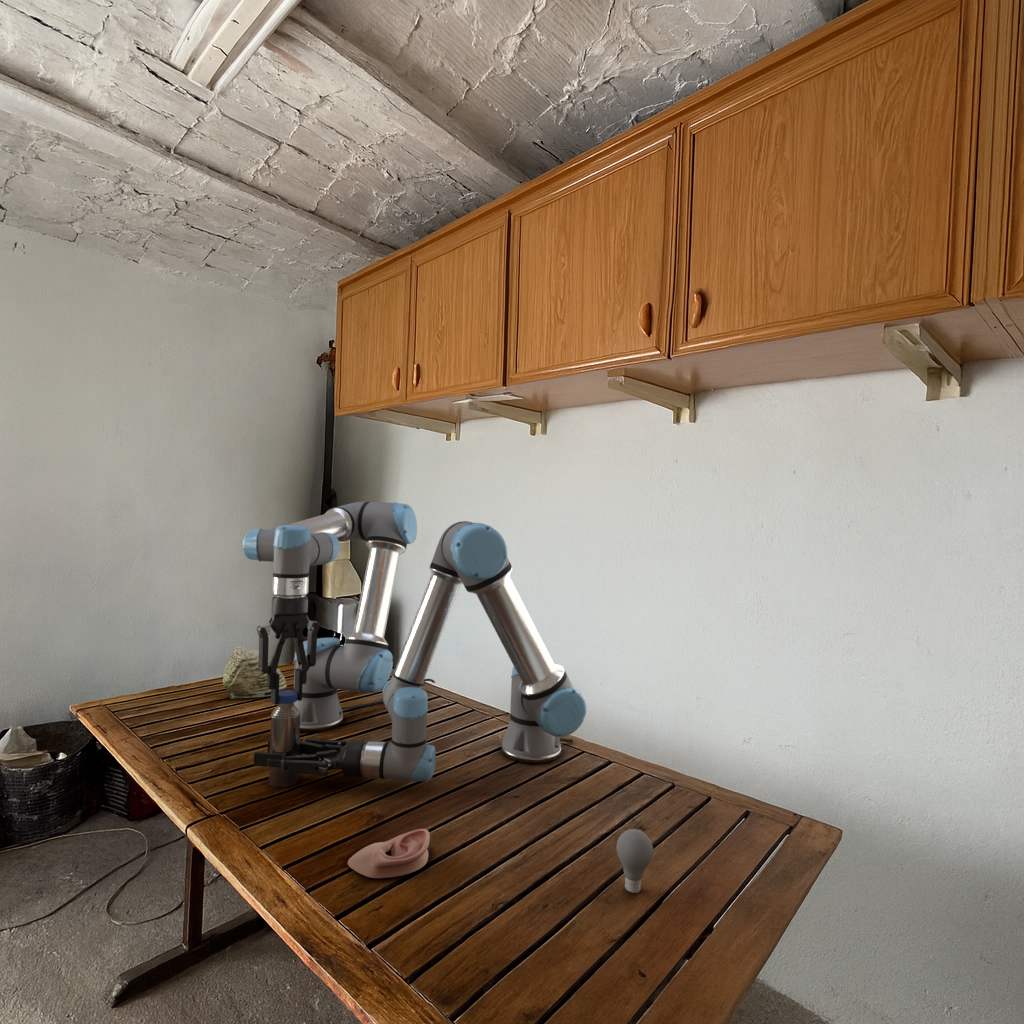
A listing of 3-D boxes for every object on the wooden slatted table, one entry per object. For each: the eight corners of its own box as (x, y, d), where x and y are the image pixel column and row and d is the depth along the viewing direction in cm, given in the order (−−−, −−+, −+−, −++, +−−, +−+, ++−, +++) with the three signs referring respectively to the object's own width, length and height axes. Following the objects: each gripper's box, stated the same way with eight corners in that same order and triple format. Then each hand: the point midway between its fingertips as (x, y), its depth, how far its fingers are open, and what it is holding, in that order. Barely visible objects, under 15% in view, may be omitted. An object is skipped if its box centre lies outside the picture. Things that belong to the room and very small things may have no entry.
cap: (282, 696, 142) (282, 689, 142) (301, 698, 142) (301, 690, 142) (271, 702, 138) (271, 695, 138) (290, 704, 137) (291, 697, 137)
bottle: (303, 781, 140) (306, 695, 140) (276, 790, 136) (279, 701, 135) (289, 772, 144) (292, 689, 144) (263, 780, 140) (266, 694, 140)
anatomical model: (339, 849, 107) (368, 816, 118) (339, 872, 107) (367, 837, 118) (414, 862, 104) (436, 827, 115) (413, 885, 104) (435, 848, 116)
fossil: (218, 695, 195) (220, 647, 195) (278, 685, 208) (279, 640, 207) (228, 703, 189) (230, 653, 188) (289, 692, 201) (290, 645, 201)
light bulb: (610, 879, 108) (613, 822, 108) (644, 879, 109) (647, 822, 109) (619, 902, 102) (622, 840, 102) (655, 901, 103) (658, 840, 103)
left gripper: (254, 600, 131) (250, 713, 131) (335, 595, 142) (331, 698, 143) (243, 595, 137) (239, 703, 137) (321, 591, 148) (317, 690, 148)
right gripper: (350, 796, 130) (240, 788, 131) (375, 758, 149) (279, 752, 150) (351, 760, 129) (241, 752, 131) (376, 726, 149) (280, 720, 150)
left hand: (286, 700), depth 140 cm, fingers closed on cap, 4 cm apart
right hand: (261, 752), depth 140 cm, fingers closed on bottle, 6 cm apart
